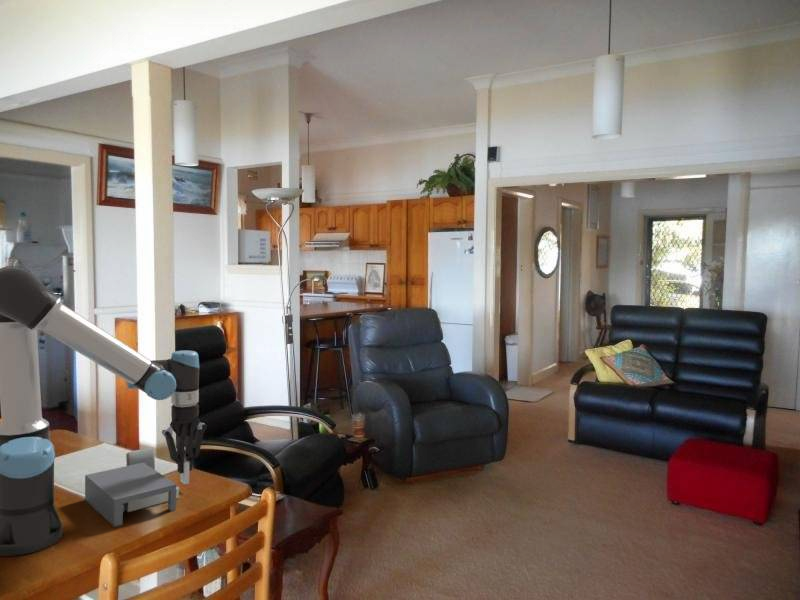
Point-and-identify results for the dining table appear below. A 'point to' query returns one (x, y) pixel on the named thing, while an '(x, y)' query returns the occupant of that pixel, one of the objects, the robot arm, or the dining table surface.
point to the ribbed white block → (148, 501)
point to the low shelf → (125, 489)
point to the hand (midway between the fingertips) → (184, 482)
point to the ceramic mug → (141, 457)
